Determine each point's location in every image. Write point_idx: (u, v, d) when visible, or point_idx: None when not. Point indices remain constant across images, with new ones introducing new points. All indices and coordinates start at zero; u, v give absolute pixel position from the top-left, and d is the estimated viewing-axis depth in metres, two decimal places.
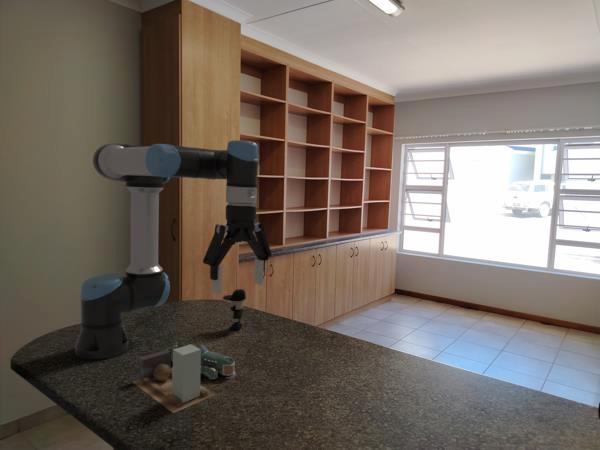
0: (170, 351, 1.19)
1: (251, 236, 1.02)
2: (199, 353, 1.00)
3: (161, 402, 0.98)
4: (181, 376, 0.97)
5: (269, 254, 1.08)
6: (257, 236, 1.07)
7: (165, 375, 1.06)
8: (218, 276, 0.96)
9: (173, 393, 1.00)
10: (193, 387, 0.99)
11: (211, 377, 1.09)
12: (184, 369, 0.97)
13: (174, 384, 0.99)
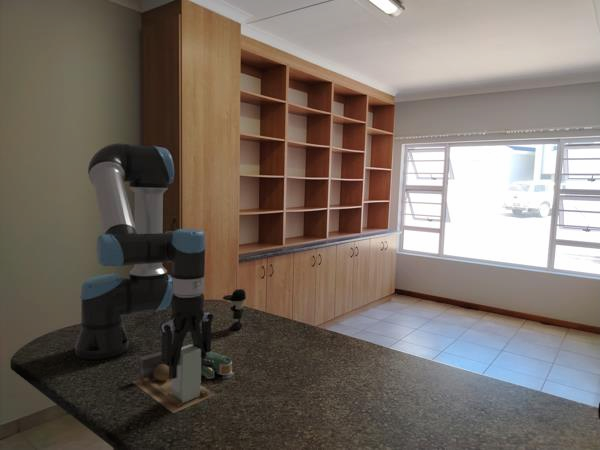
0: None
1: (196, 327, 0.99)
2: (199, 353, 1.00)
3: (161, 402, 0.98)
4: (181, 376, 0.97)
5: (208, 349, 1.03)
6: (202, 327, 1.03)
7: (165, 375, 1.06)
8: (177, 374, 0.97)
9: (173, 393, 1.00)
10: (193, 387, 0.99)
11: (208, 376, 1.10)
12: (184, 369, 0.97)
13: None
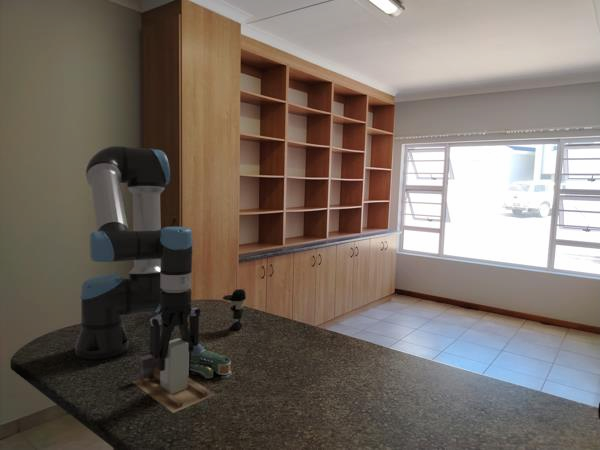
0: None
1: (184, 321, 1.02)
2: (187, 346, 1.03)
3: (161, 402, 0.98)
4: (169, 368, 1.00)
5: (195, 343, 1.06)
6: (190, 321, 1.07)
7: None
8: (165, 367, 1.00)
9: (162, 385, 1.03)
10: (181, 379, 1.03)
11: (206, 376, 1.10)
12: (172, 362, 1.00)
13: None
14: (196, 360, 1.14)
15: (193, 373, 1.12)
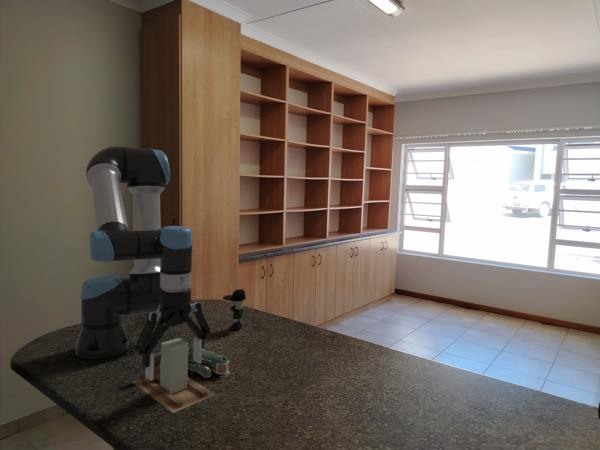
0: None
1: (186, 319, 1.03)
2: (186, 346, 1.03)
3: (161, 402, 0.98)
4: (169, 368, 1.01)
5: (208, 332, 1.09)
6: (195, 315, 1.08)
7: None
8: (150, 363, 0.97)
9: (161, 385, 1.03)
10: (180, 379, 1.03)
11: (204, 375, 1.10)
12: (171, 361, 1.00)
13: (162, 376, 1.03)
14: None
15: (191, 372, 1.12)
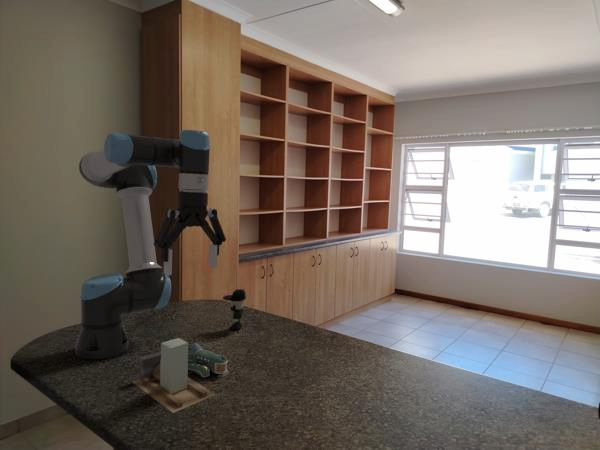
0: None
1: (203, 221, 1.07)
2: (186, 346, 1.03)
3: (161, 402, 0.98)
4: (169, 368, 1.01)
5: (223, 239, 1.13)
6: (211, 222, 1.12)
7: None
8: (168, 258, 1.02)
9: (161, 385, 1.03)
10: (180, 379, 1.03)
11: (203, 375, 1.10)
12: (171, 361, 1.00)
13: (162, 376, 1.03)
14: (193, 359, 1.15)
15: (190, 372, 1.13)
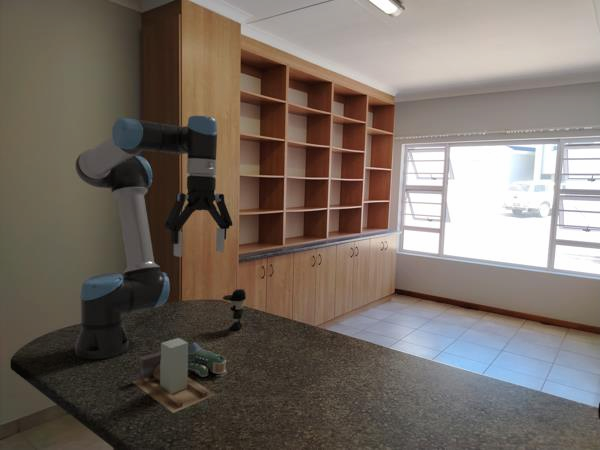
0: None
1: (211, 205, 1.10)
2: (186, 346, 1.03)
3: (161, 402, 0.98)
4: (169, 368, 1.01)
5: (230, 223, 1.16)
6: (218, 206, 1.15)
7: None
8: (179, 240, 1.05)
9: (161, 385, 1.03)
10: (180, 379, 1.03)
11: (201, 374, 1.11)
12: (171, 361, 1.00)
13: (162, 376, 1.03)
14: (192, 359, 1.15)
15: (188, 371, 1.13)
